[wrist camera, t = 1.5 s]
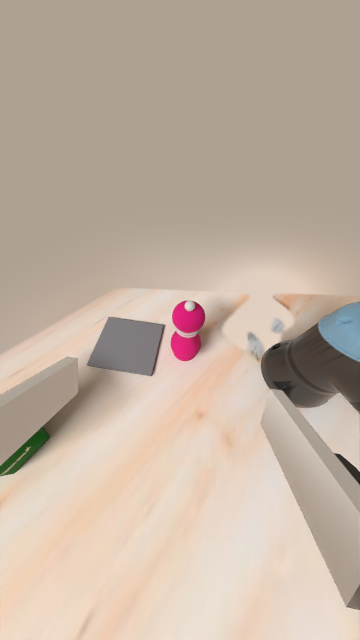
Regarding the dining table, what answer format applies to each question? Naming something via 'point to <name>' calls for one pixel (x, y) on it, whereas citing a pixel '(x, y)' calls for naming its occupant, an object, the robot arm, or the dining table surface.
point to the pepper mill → (187, 329)
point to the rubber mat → (127, 346)
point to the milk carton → (24, 452)
